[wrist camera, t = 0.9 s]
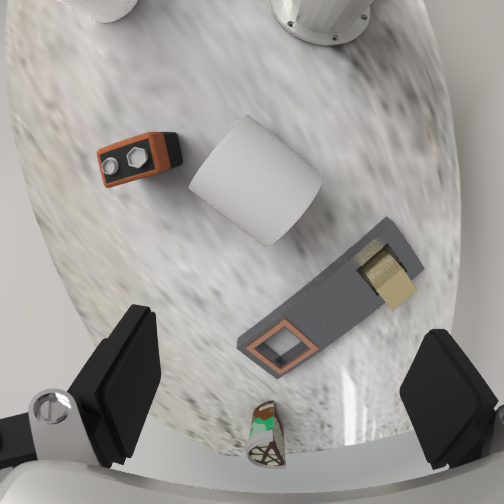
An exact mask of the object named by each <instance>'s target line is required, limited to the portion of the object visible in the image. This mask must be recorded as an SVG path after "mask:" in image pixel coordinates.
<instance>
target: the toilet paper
mask: <svg viewBox="0 0 504 504" xmlns="http://www.w3.org/2000/svg"><path fill="white" fill-rule="evenodd" d="M322 181H323V177H322V175H320V174H319V173H318V172H317V171H316V170H315V169H314V168H313V167H311V166H310V165H309V164H308V163H307V162H306V161H304V160H303V159H302V158H301V157H300V156H299V155H297V154H296V153H295V152H294V151H293V150H291V149H290V148H289V147H288V146H287V145H285V144H284V143H283V142H282V141H281V140H279V139H278V138H277V137H276V136H274V135H273V134H272V133H271V132H269V131H268V130H267V129H266V128H264V127H263V126H262V125H261V124H259V123H258V122H257V121H255V120H254V119H253V118H252V117H250V116H249V115H246V116H245V117H243V118H242V119H241V120H240V121H239V122H238V123H237V124H236V125H235V126H234V127H233V128H232V129H231V130H230V131H229V132H228V133H227V135H226V136H225V137H224V138H223V139H222V140H221V141H220V143H219V144H218V145H217V146H216V147H215V149H214V150H213V151H212V152H211V154H210V155H209V156H208V158H207V159H206V160H205V162H204V163H203V164H202V166H201V167H200V169H199V170H198V172H197V173H196V175H195V176H194V178H193V179H192V181H191V183H190V185H189V189H190V190H192V191H193V192H194V193H195V194H197V195H198V196H199V197H201V198H202V199H203V200H205V201H206V202H207V203H208V204H210V205H211V206H212V207H214V208H215V209H216V210H218V211H219V212H220V213H221V214H223V215H224V216H225V217H227V218H228V219H229V220H230V221H232V222H233V223H234V224H236V225H237V226H238V227H239V228H241V229H242V230H243V231H245V232H246V233H247V234H248V235H250V236H251V237H252V238H254V239H255V240H256V241H257V242H259V243H260V244H261V245H263V246H269V245H271V244H272V243H274V242H275V241H277V240H278V239H279V238H280V237H282V236H283V235H284V234H285V233H286V232H287V231H288V230H289V229H290V228H291V227H292V226H293V225H294V224H295V223H296V222H297V220H298V219H299V218H300V217H301V216H302V215H303V213H304V212H305V211H306V209H307V208H308V207H309V205H310V204H311V202H312V201H313V199H314V198H315V196H316V195H317V193H318V191H319V189H320V187H321V184H322Z"/></svg>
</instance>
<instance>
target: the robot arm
mask: <svg viewBox="0 0 504 504" xmlns="http://www.w3.org/2000/svg"><path fill="white" fill-rule="evenodd" d="M373 1H374V0H271V8H272V11H273V14H274V16H275V18H276V19H277V21H278V22H279V23H280V25H281V26H282V27H283V28H285V29H286V30H287V31H288V32H289V33H291V34H292V35H294V36H295V37H297V38H299V39H301V40H303V41H306V42H309V43H312V44H317V45H323V46H335V45H342V44H345V43H348V42H350V41H352V40H354V39H356V38H357V37H358V36H359V35H360V34H362V32H363V31H364V30H365V29H366V27H367V25H368V23H369V20H370V6H369V5H370V4H371V3H372V2H373ZM362 18H363V19H364V20H363V19H362ZM289 25H292V26H293V27H289ZM333 38H334V39H335V40H336V41H334V40H332V39H333ZM160 380H161V367H160V358H159V348H158V337H157V325H156V314H155V312H151V310H150V308H149V307H147V306H141V305H135V304H133V305H131V306H130V308H129V309H128V311H127V312H126V313H125V315H124V316H123V317H122V319H121V320H120V322H119V323H118V324H117V326H116V327H115V329H114V330H113V331H112V333H111V334H110V336H109V337H108V339H107V338H105V339H103V340H102V341H101V342H100V344H99V345H98V347H97V348H96V349H95V351H94V352H93V354H92V355H91V357H90V358H89V359H88V361H87V362H86V364H85V365H84V367H83V368H82V370H81V371H80V373H79V374H78V376H77V377H76V379H75V380H74V382H73V383H72V385H71V386H70V388H69V389H68V391H67V392H65V391H63V390H60V389H47V390H44V391H41V392H39V393H38V394H36V395H35V396H34V397H33V398H32V400H31V401H30V404H29V408H28V412H27V413H23V414H20V415H15V416H12V417H7V418H3V419H0V504H504V405H501V406H499V408H498V409H497V410H496V411H495V410H494V407H495V406H496V404H497V403H498V399H497V398H496V397H495V395H494V394H493V392H492V390H491V389H490V388H489V386H488V385H487V383H486V382H485V381H484V379H483V378H482V376H481V375H480V374H479V372H478V371H477V369H476V368H475V367H474V365H473V364H472V363H471V361H470V360H469V359H468V357H467V356H466V355H465V353H464V352H463V351H462V349H461V348H460V347H459V345H458V344H457V343H456V342H455V340H454V339H453V338H452V336H451V335H450V334H449V333H448V331H447V330H445V329H432V330H430V331H429V332H428V333H427V334H426V335H425V336H424V339H423V341H422V343H421V345H420V348H419V350H418V352H417V354H416V356H415V359H414V361H413V363H412V365H411V367H410V369H409V371H408V373H407V375H406V377H405V379H404V381H403V383H402V385H401V387H400V397H401V399H402V401H403V404H404V406H405V408H406V411H407V413H408V415H409V418H410V420H411V422H412V425H413V427H414V430H415V432H416V435H417V437H418V439H419V442H420V445H421V447H422V450H423V452H424V455H425V457H426V460H427V462H428V463H430V464H431V466H432V469H433V470H435V469H438V468H442V467H445V466H446V464H449V469H448V470H446V471H443V472H439V473H435V474H431V475H428V476H424V477H420V478H416V479H411V480H407V481H402V482H398V483H392V484H387V485H382V486H375V487H368V488H361V489H353V490H344V491H333V492H319V493H289V494H288V493H283V494H282V493H281V494H280V493H251V492H237V491H226V490H216V489H209V488H202V487H195V486H188V485H182V484H177V483H171V482H166V481H160V480H156V479H151V478H147V477H143V476H139V475H135V474H130V473H125V472H121V471H117V470H113V469H110V467H111V466H112V463H113V462H115V463H118V464H121V465H124V462H125V460H126V457H127V458H131V457H132V455H133V453H134V450H135V447H136V444H137V442H138V439H139V436H140V433H141V431H142V428H143V425H144V423H145V420H146V417H147V414H148V412H149V409H150V407H151V404H152V401H153V399H154V396H155V394H156V391H157V388H158V386H159V383H160Z"/></svg>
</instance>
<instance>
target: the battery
mask: <svg viewBox="0 0 504 504" xmlns="http://www.w3.org/2000/svg"><path fill="white" fill-rule="evenodd" d="M97 157H98V162H99V166H100V170H101V174H102V178H103V182H104V186H105V187H107V188H110V187H114V186H117V185H121V184H124V183H127V182H131V181H134V180H138V179H141V178H145V177H149V176H152V175H156V174H159V173H161V172H164V171H167V170H169V169H172V168H174V167H177V166H180V165H181V164H182V163H183V159H182V155H181V150H180V146H179V141H178V136H177V134H176V133H175V132H148V133H144V134H141V135H138V136H135V137H132V138H129V139H126V140H123V141H120V142H117V143H114V144H112V145H109V146H106V147H104V148H101V149H99V150H98V151H97Z"/></svg>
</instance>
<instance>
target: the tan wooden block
mask: <svg viewBox="0 0 504 504" xmlns="http://www.w3.org/2000/svg"><path fill="white" fill-rule="evenodd" d="M361 268H362V269H363V271H364V272H365V274H366V275H367V277H368V278H369V280H370V281H371V283H372V284H373V286H374V288H375V289H376V291H377V292H378V293H379V294H380V296H381V297H382V298H383V299H384V301H385V302H386V303H387V304H388V306H389V307H390V308H391V309H392V311H393V310H394V309H395V308H396V307H398V306H399V305H400V304H401V303H402V302H404V301H405V300H406V299H407V298H408V297H410V296H411V295H412V294H413V293H414V292H415V291H417V289H416V287H415V286H414V284H413V283H412V281H411V280H410V278H409V277H408V275H407V274H406V272H405V271H404V270H403V268H402V267H401V266H400V265H399V264H398V263H397V262H396V261H395V259H394V258H393V257H392V256H391V255H390V254H389V253H388V252H387V251H386V250H385V249H384V248H381V249H380V250H379V251H378V252H377V253H376V254H375V255H373V256H372V257H371V258H370V259H369V260H368V261H366V262H365V263H364V264H363V265H362V266H361Z"/></svg>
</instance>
